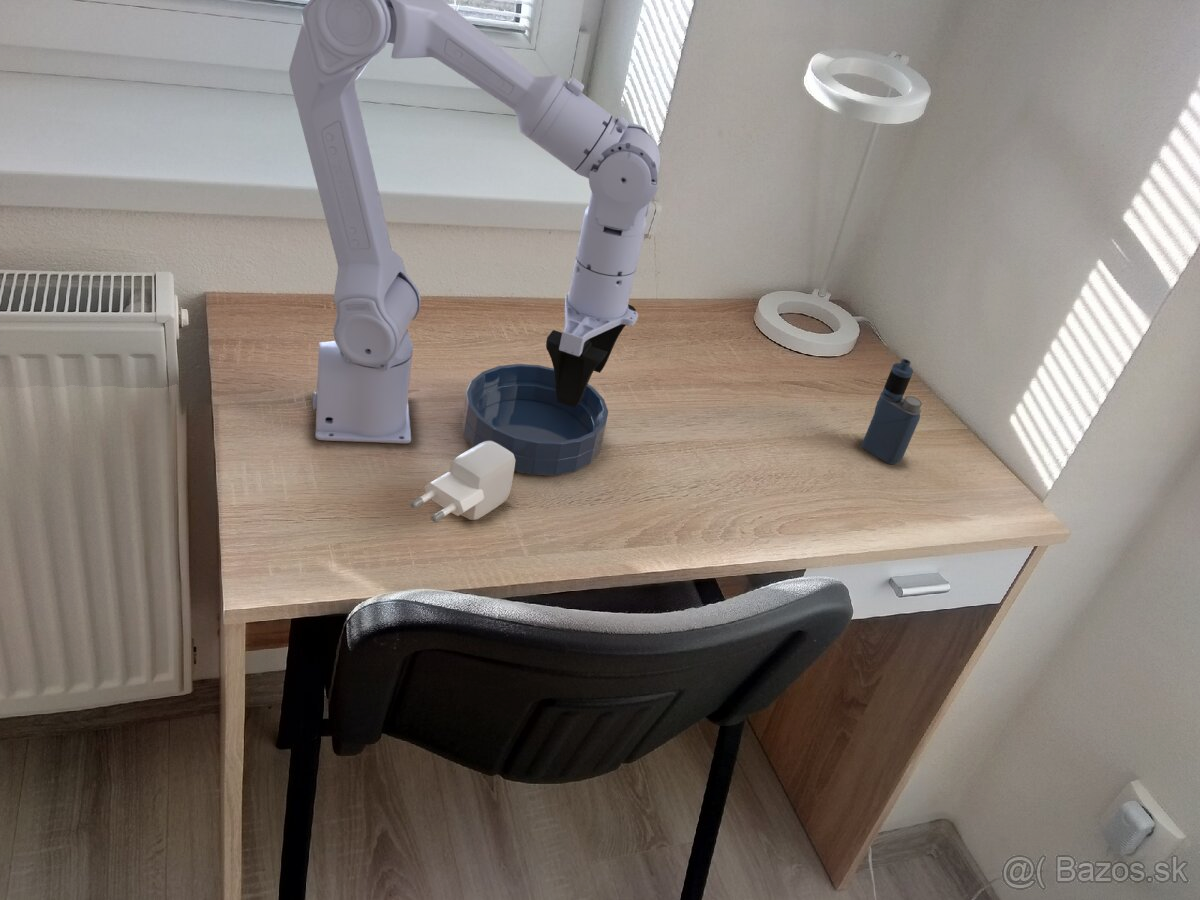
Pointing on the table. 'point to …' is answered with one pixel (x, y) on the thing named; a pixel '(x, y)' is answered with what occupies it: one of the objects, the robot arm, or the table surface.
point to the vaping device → (893, 417)
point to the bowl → (533, 419)
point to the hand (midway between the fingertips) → (579, 385)
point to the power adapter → (472, 482)
